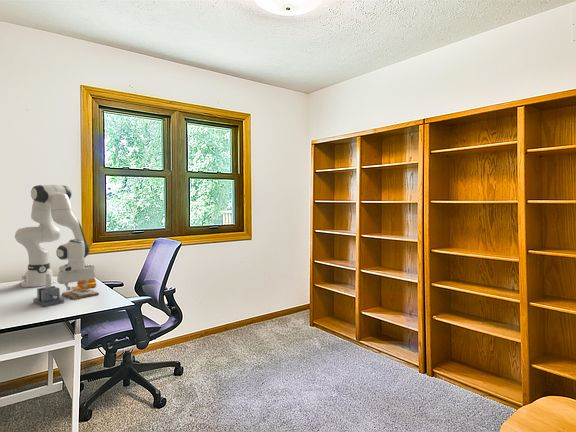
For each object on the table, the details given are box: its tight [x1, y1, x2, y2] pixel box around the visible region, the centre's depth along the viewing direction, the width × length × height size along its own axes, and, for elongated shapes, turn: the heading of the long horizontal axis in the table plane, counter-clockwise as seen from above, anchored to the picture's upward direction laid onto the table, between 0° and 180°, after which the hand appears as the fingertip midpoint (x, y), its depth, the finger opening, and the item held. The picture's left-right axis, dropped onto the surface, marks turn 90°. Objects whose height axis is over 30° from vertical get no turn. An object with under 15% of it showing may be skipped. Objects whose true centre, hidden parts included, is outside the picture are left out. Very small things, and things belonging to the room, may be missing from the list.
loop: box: [71, 285, 94, 296], centre depth 213 cm, size 15×8×2 cm, turn 53°
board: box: [61, 288, 100, 301], centre depth 213 cm, size 16×14×1 cm
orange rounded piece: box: [76, 277, 97, 289], centre depth 232 cm, size 11×7×12 cm, turn 121°
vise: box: [32, 274, 65, 308], centre depth 195 cm, size 17×10×16 cm, turn 53°
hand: (76, 288), depth 216 cm, fingers open, 8 cm apart
